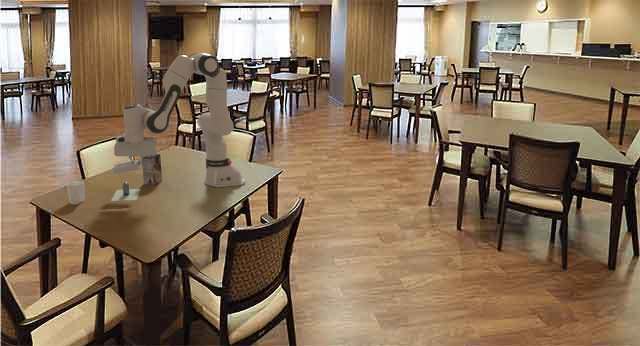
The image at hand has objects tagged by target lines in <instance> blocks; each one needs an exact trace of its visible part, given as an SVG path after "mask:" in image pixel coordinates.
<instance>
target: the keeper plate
mask: <svg viewBox="0 0 640 346" xmlns="http://www.w3.org/2000/svg"><path fill="white" fill-rule="evenodd" d="M141 189H142V188H129V195H127V196H124V195H123V189H117V190H116V191H115V192H114V194H113V196H112V198H111V200H110V202H116V201H117V202H118V201H137V200H138V197H139V194H140V192H141Z"/></svg>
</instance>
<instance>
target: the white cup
mask: <svg viewBox="0 0 640 346" xmlns="http://www.w3.org/2000/svg"><path fill="white" fill-rule="evenodd" d="M65 185H66V190H67V197H68V200H69V205H80V204H81V203H83V202H85V200H86V199H85V198H86V197H85V195H86V194H85V193H86V192H85V191H86V190H85V182H84V181H83V180H72V181H69V182H66V184H65Z"/></svg>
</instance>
